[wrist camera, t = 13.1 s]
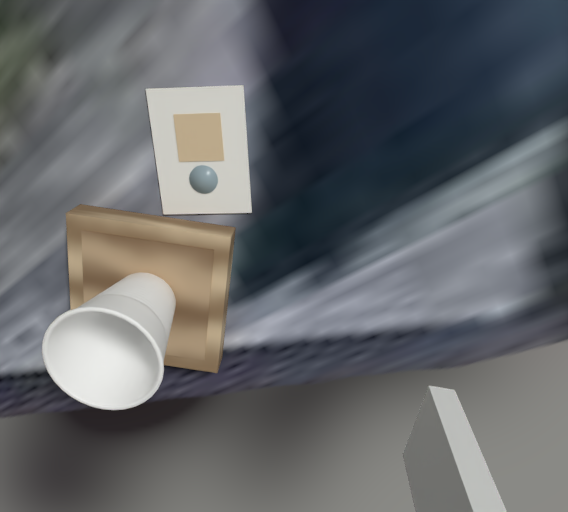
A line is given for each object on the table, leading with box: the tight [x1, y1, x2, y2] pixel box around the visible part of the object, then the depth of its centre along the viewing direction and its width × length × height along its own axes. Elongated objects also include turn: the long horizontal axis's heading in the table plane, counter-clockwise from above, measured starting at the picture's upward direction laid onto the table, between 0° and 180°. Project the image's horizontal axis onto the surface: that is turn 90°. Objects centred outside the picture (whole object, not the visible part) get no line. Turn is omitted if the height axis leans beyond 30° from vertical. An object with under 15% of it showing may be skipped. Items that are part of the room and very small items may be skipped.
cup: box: [42, 272, 176, 410], centre depth 42 cm, size 10×10×11 cm
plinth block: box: [66, 204, 235, 373], centre depth 49 cm, size 16×16×3 cm
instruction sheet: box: [146, 85, 252, 215], centre depth 44 cm, size 12×9×1 cm
